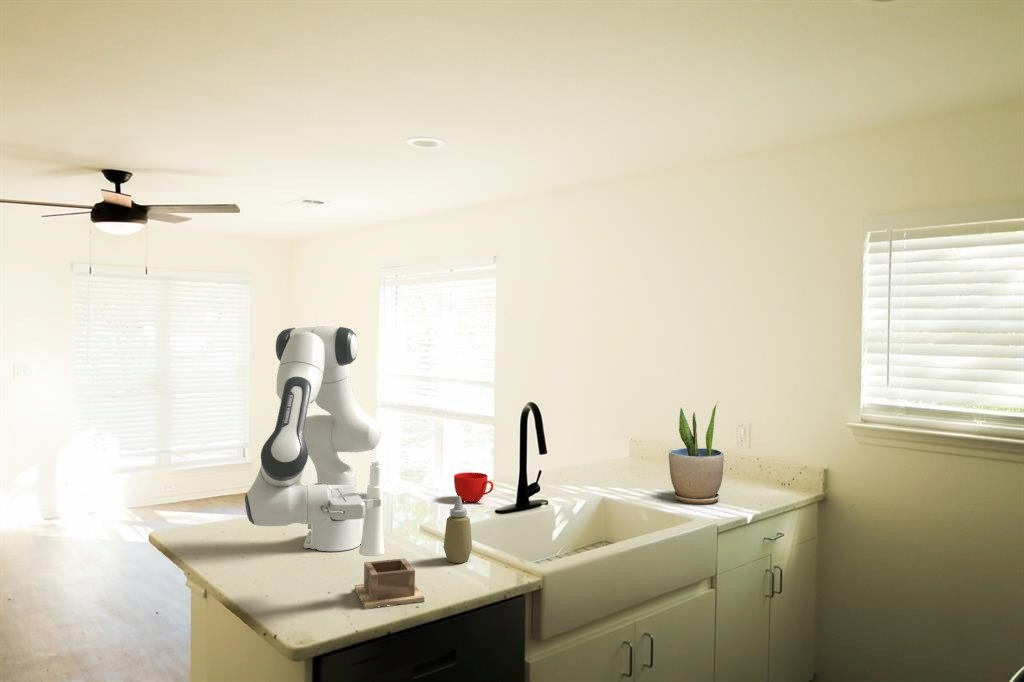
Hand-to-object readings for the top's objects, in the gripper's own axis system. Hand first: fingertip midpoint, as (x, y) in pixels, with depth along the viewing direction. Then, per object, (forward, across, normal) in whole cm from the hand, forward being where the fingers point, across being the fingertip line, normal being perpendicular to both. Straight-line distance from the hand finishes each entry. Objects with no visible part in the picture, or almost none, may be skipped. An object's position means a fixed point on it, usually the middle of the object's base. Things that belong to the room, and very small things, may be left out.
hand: (378, 499), depth 173 cm
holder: (+3, 0, +23) cm, 24 cm away
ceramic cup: (+54, +89, +25) cm, 107 cm away
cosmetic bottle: (-1, 0, +13) cm, 13 cm away
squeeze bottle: (+27, +21, +24) cm, 42 cm away
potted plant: (+138, +66, +25) cm, 155 cm away
